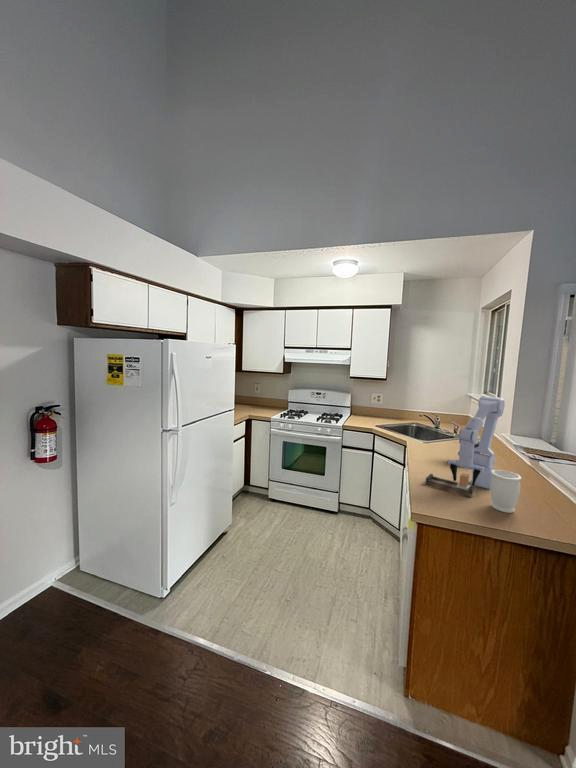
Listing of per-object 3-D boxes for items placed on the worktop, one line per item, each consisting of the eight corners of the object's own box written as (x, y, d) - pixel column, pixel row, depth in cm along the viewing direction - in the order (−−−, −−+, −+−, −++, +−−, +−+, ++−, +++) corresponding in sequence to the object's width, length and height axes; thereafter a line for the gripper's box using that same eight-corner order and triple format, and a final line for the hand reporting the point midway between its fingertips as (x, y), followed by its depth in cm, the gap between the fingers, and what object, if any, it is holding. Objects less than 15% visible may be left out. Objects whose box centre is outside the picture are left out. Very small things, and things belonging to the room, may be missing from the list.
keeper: (470, 488, 149) (471, 474, 148) (468, 491, 145) (469, 478, 144) (458, 485, 152) (459, 472, 151) (456, 488, 148) (457, 475, 148)
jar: (518, 517, 127) (522, 481, 125) (488, 509, 132) (491, 475, 130) (516, 506, 136) (520, 472, 134) (488, 500, 141) (491, 467, 139)
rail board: (475, 491, 149) (475, 484, 149) (471, 498, 143) (471, 490, 142) (430, 479, 162) (431, 473, 162) (425, 485, 155) (425, 478, 155)
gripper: (447, 452, 148) (444, 480, 150) (482, 460, 139) (480, 489, 141) (450, 449, 154) (448, 476, 155) (485, 456, 145) (483, 485, 146)
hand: (463, 482), depth 148 cm, fingers open, 7 cm apart
